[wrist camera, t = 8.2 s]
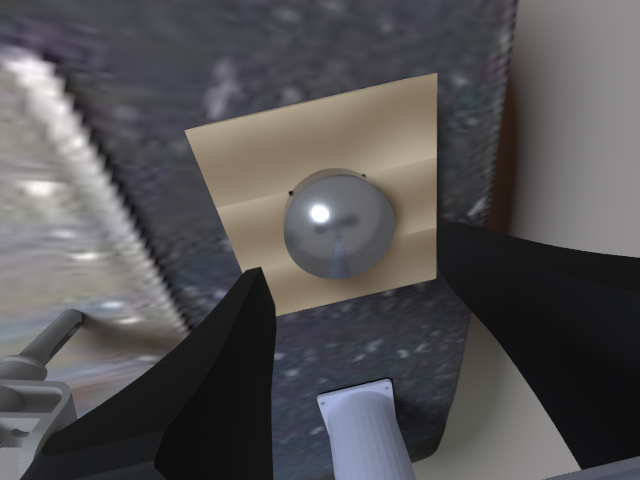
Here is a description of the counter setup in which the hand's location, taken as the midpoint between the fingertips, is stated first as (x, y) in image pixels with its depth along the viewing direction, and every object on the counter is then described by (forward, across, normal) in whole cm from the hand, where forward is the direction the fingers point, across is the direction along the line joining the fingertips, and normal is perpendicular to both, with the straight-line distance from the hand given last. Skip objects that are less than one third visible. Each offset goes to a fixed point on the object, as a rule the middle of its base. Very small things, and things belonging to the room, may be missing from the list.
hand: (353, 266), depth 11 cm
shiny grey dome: (+8, 0, 0) cm, 9 cm away
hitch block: (+9, 0, 0) cm, 9 cm away
